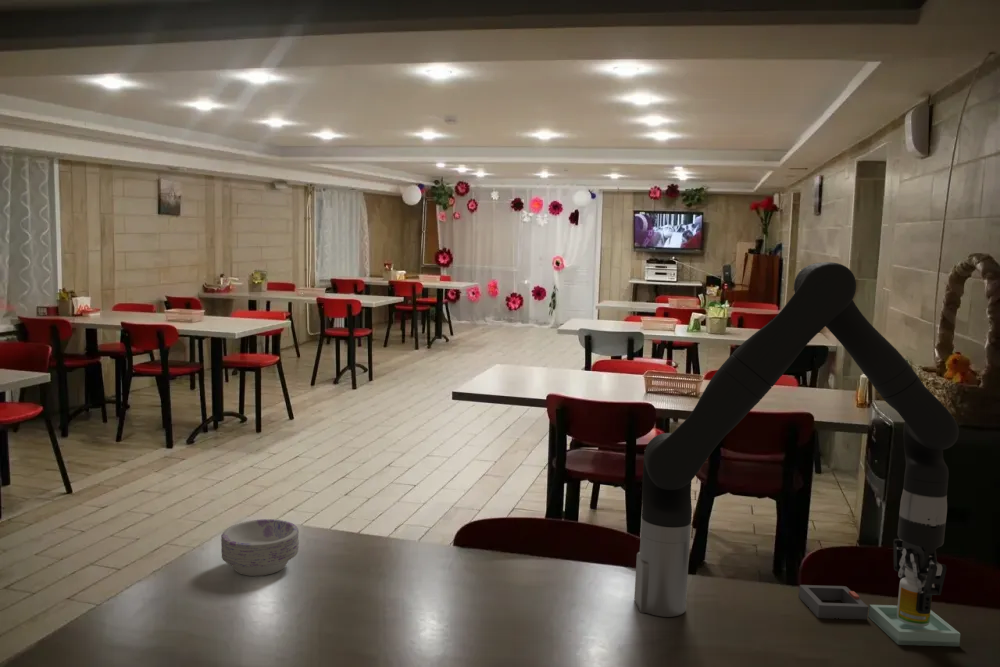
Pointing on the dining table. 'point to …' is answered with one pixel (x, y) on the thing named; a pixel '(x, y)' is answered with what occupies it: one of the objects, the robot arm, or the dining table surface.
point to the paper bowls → (259, 546)
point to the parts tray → (913, 628)
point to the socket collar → (846, 610)
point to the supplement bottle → (910, 601)
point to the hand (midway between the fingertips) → (913, 605)
